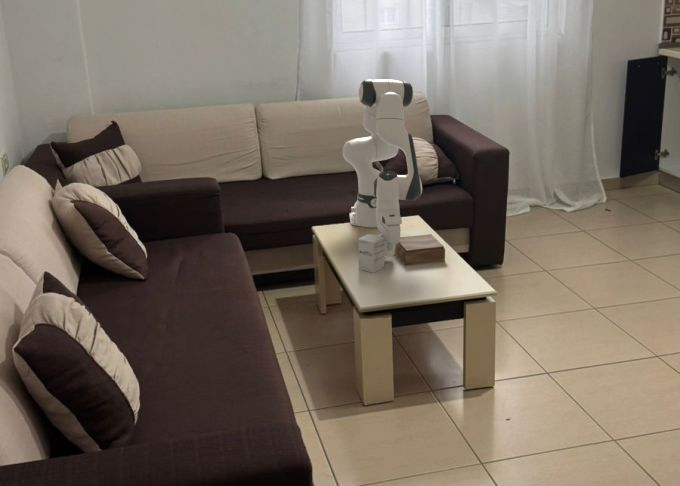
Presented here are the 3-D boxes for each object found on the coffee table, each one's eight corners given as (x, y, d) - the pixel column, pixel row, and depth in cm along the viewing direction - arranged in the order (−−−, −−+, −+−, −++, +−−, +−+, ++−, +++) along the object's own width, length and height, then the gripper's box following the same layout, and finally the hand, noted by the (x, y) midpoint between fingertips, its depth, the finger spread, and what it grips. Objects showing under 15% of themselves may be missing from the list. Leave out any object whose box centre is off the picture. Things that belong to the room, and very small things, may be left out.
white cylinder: (394, 258, 333) (395, 241, 331) (377, 257, 335) (377, 240, 332) (397, 251, 340) (397, 235, 337) (380, 250, 341) (380, 234, 338)
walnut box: (393, 251, 348) (393, 237, 346) (431, 247, 351) (431, 233, 349) (405, 265, 333) (405, 250, 331) (444, 261, 336) (445, 246, 334)
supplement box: (357, 269, 330) (357, 238, 326) (369, 263, 336) (369, 233, 331) (373, 273, 326) (372, 242, 321) (384, 267, 331) (384, 236, 327)
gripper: (372, 206, 340) (373, 239, 345) (387, 222, 321) (386, 257, 326) (388, 204, 341) (388, 237, 346) (403, 221, 323) (402, 255, 328)
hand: (387, 247), depth 336 cm, fingers closed on white cylinder, 5 cm apart
